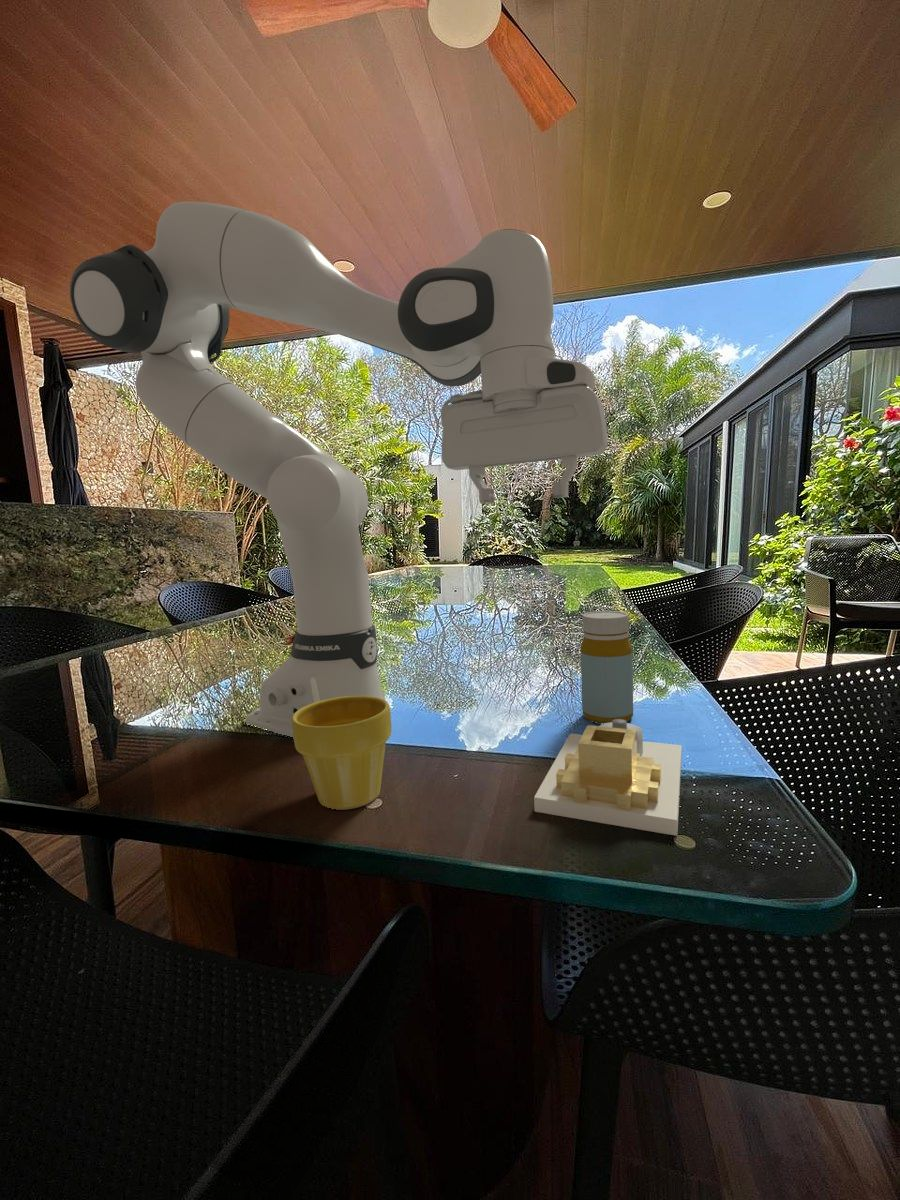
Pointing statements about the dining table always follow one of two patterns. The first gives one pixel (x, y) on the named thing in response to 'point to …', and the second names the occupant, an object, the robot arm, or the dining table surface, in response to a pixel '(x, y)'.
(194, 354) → the robot arm
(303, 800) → the dining table surface
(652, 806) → the carrier plate
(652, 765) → the gear
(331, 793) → the plant pot
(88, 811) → the dining table surface
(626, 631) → the bottle
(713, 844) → the dining table surface
